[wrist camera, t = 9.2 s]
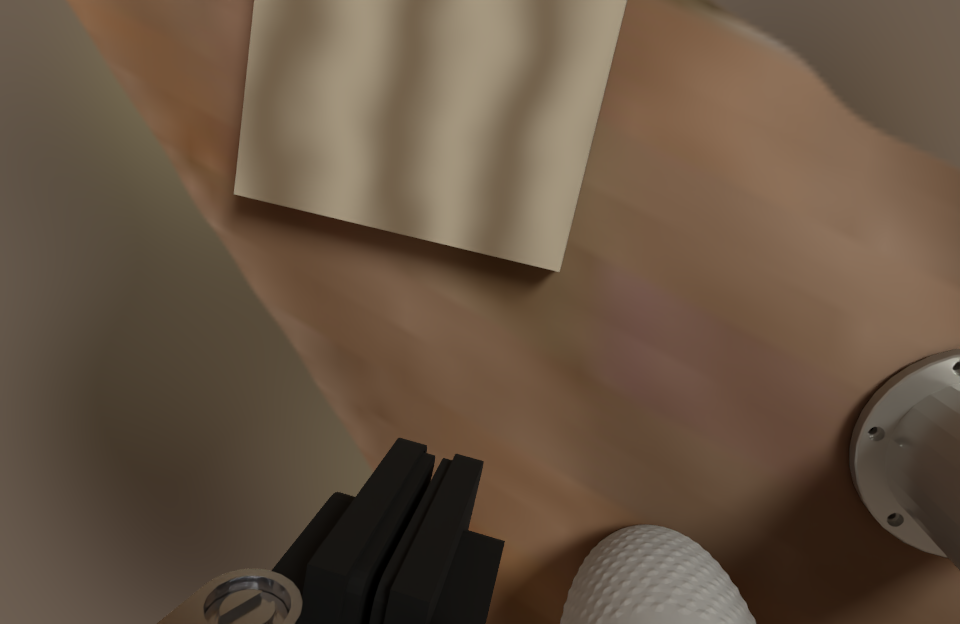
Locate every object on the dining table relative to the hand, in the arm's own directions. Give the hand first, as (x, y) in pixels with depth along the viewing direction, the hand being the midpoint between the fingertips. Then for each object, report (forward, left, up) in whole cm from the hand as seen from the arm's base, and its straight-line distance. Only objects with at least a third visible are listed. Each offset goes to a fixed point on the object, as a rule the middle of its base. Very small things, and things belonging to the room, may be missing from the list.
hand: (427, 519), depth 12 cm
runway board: (+9, -16, -27) cm, 33 cm away
